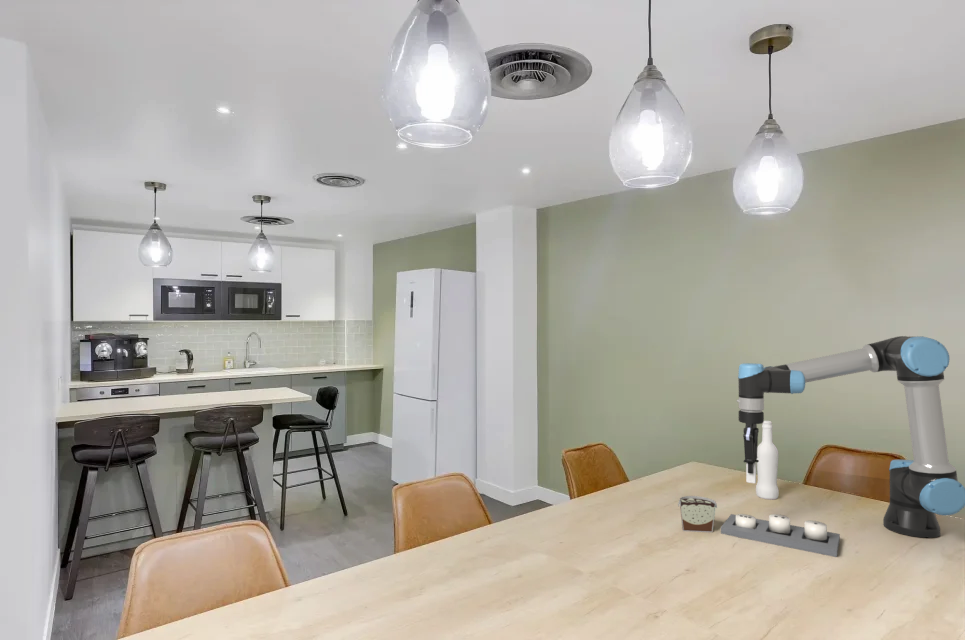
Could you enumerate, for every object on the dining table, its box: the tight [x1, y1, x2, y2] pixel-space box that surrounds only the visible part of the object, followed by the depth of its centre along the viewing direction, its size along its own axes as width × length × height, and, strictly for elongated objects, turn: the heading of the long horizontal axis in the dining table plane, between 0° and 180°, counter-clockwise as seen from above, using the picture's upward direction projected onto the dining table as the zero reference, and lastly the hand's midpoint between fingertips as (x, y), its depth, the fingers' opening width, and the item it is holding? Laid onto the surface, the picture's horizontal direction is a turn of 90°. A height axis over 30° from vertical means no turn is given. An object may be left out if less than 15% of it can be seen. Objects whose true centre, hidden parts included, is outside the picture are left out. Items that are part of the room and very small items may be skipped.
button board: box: [720, 513, 841, 558], centre depth 182 cm, size 32×16×2 cm, turn 55°
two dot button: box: [768, 513, 791, 534], centre depth 182 cm, size 6×6×4 cm
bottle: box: [755, 419, 780, 501], centre depth 225 cm, size 8×8×30 cm
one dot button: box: [803, 520, 828, 541], centre depth 176 cm, size 6×6×4 cm
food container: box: [677, 495, 718, 533], centre depth 189 cm, size 12×6×10 cm, turn 84°
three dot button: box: [735, 513, 757, 529], centre depth 188 cm, size 6×6×4 cm
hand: (751, 482), depth 187 cm, fingers closed
